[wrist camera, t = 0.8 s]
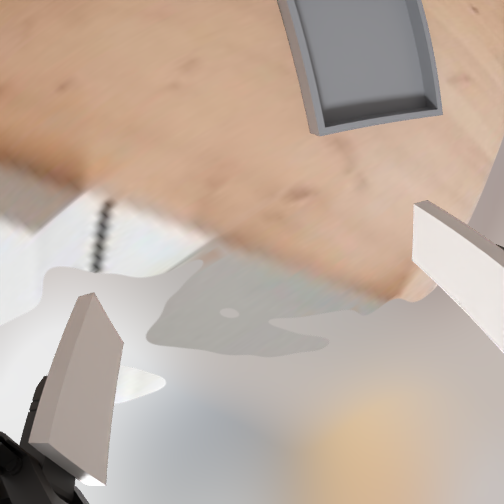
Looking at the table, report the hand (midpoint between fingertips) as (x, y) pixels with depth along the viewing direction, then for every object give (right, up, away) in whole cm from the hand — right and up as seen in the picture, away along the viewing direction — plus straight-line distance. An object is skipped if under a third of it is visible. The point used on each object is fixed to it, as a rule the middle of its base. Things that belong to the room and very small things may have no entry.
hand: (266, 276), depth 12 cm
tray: (+12, +24, +18) cm, 33 cm away
